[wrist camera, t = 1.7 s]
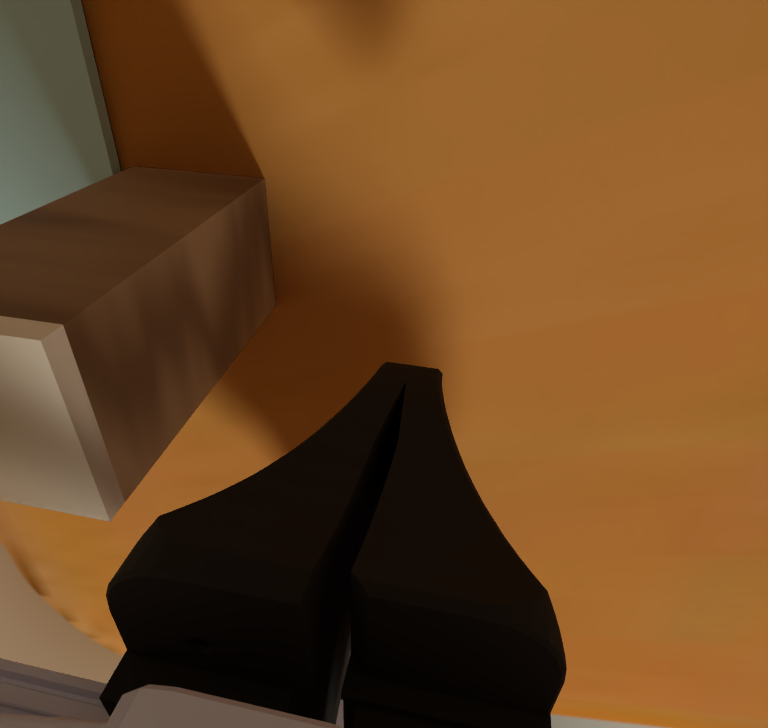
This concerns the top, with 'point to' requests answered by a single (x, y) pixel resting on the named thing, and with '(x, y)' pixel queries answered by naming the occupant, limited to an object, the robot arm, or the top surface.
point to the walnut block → (121, 327)
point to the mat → (49, 106)
